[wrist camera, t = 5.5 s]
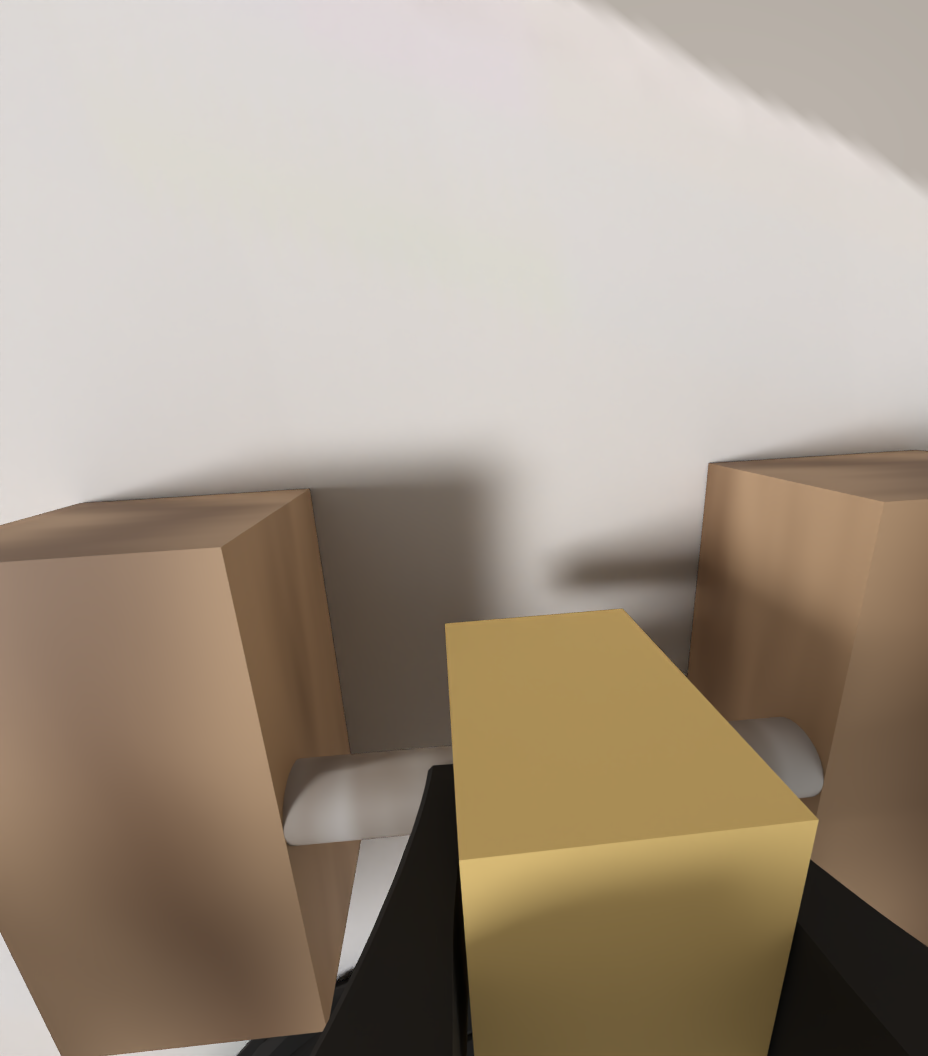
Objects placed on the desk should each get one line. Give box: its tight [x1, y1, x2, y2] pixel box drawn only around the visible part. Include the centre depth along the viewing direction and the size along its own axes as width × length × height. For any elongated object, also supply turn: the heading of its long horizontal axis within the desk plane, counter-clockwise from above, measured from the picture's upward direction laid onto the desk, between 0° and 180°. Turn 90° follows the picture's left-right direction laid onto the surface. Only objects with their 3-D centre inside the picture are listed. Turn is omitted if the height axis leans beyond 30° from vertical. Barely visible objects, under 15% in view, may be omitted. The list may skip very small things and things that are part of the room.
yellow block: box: [445, 609, 819, 1056], centre depth 8 cm, size 4×6×5 cm, turn 3°
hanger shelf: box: [0, 450, 928, 1056], centre depth 11 cm, size 23×12×5 cm, turn 93°
